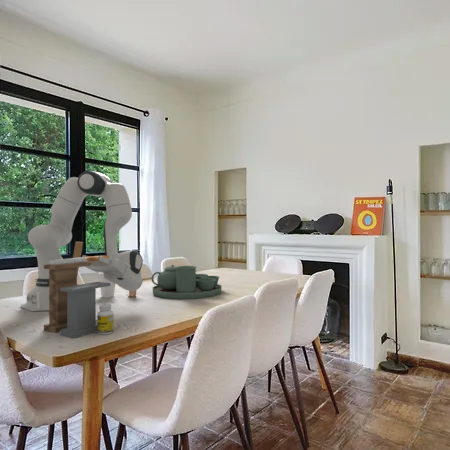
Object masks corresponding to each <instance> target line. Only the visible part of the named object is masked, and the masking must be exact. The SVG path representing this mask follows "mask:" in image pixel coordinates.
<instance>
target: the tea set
mask: <svg viewBox="0 0 450 450" xmlns="http://www.w3.org/2000/svg"><path fill="white" fill-rule="evenodd" d="M196 271H197V266H196V265H195V266H194V265H178V266H176V265H174V264H171V266H166V267H164V270H163V271H155V272H153V274H152V275H151V282H152V284H153V285H154V286H152V294H153V295H154V297H160V298H163V299H172V300H173V299H174V300H195V299H203V298H211V297H215V296H218V295H220V294H222V285H221V284H219V280H220V276H218V275H209V274H206V273H197V272H196ZM157 274H158V275H157ZM156 275H157V279H156V281H157V283H156V282H155V280H154V277H155V276H156Z"/></svg>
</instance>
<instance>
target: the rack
mask: <svg viewBox="0 0 450 450" xmlns="http://www.w3.org/2000/svg"><path fill="white" fill-rule="evenodd" d="M106 286H110V283H105V282H100V281H94V282H89V283H81V284H78V285H75V286H69V287H63V288H60V291H66V292H67V328H65V329H61V330H60V332H59V333H60V335H59V336H61V337H64V338H65V337H66V338H70V339H76V338H80V337H83V336H86V335H90V334H93V333H96V332H97V318H96V317H97V316H96V310H97V309H96V306H97V305H96V301H97V299H96V295H97V294H96V293H97V291H96V290H97V289H99V288H100V289H101V287H106Z"/></svg>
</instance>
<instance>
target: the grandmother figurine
mask: <svg viewBox="0 0 450 450" xmlns="http://www.w3.org/2000/svg"><path fill="white" fill-rule="evenodd" d="M127 298H137V290H135V291H128V295H127Z"/></svg>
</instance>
